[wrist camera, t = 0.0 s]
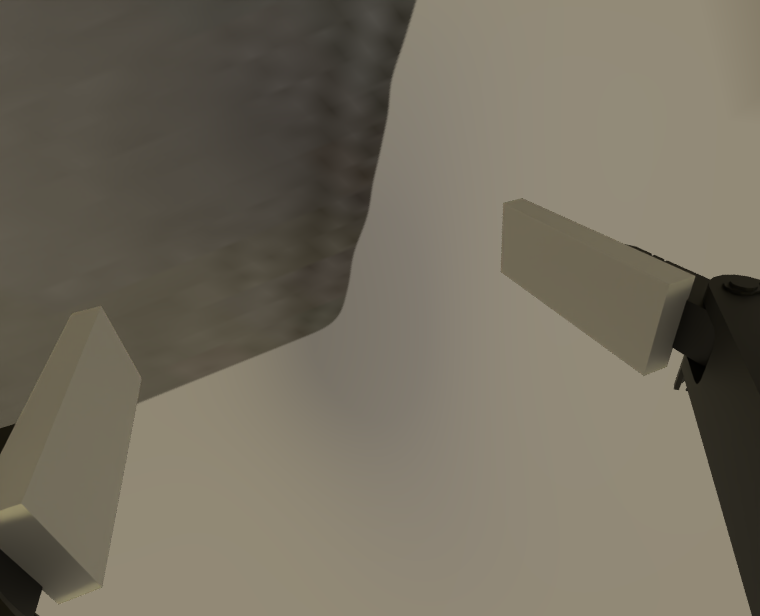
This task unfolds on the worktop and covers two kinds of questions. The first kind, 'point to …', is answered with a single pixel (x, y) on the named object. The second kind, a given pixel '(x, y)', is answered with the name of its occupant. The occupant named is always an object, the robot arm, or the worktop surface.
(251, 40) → the worktop surface
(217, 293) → the worktop surface
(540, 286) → the robot arm
